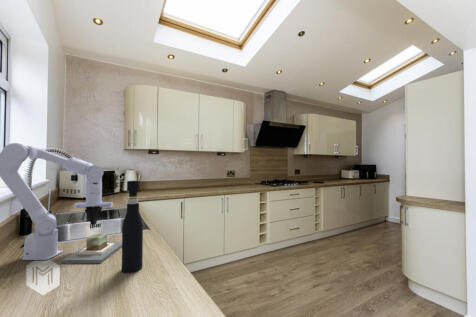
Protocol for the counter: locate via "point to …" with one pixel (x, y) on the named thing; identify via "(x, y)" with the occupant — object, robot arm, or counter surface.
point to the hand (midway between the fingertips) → (93, 224)
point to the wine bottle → (132, 232)
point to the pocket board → (93, 254)
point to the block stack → (96, 242)
